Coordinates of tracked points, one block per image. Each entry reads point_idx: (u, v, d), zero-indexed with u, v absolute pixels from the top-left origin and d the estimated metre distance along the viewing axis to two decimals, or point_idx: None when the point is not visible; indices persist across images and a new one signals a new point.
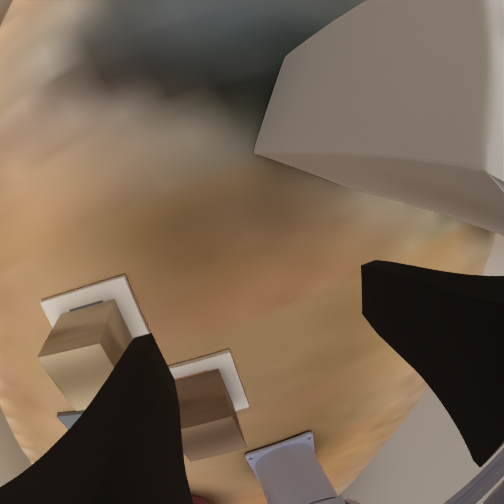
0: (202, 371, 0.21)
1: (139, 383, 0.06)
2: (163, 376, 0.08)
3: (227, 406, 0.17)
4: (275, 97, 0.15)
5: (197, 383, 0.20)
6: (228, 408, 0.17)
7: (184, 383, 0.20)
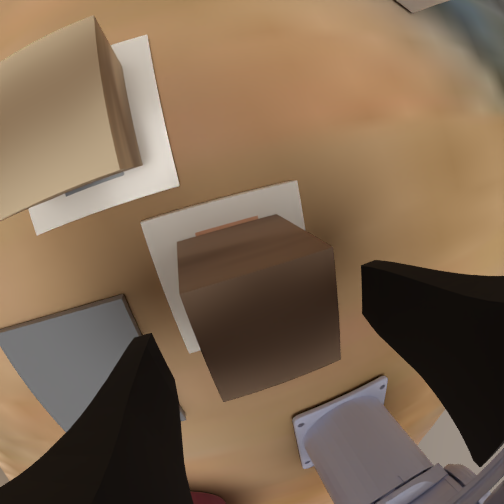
0: (248, 218, 0.13)
1: (139, 383, 0.06)
2: (163, 376, 0.08)
3: (315, 239, 0.09)
4: None
5: (241, 229, 0.12)
6: (319, 241, 0.09)
7: (216, 234, 0.12)
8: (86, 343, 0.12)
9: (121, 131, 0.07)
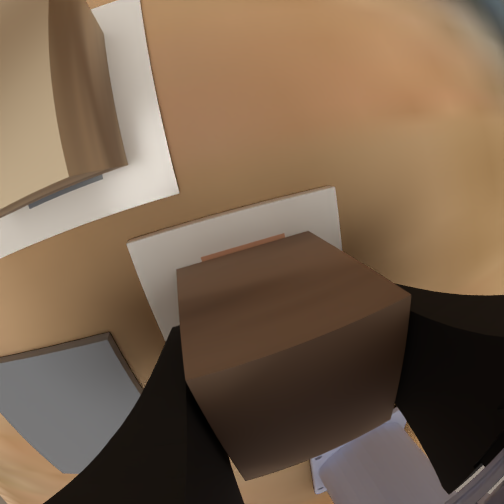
0: (272, 236, 0.09)
1: None
2: None
3: (380, 278, 0.06)
4: None
5: (266, 255, 0.09)
6: (386, 281, 0.06)
7: (230, 261, 0.09)
8: (69, 387, 0.09)
9: (86, 112, 0.04)
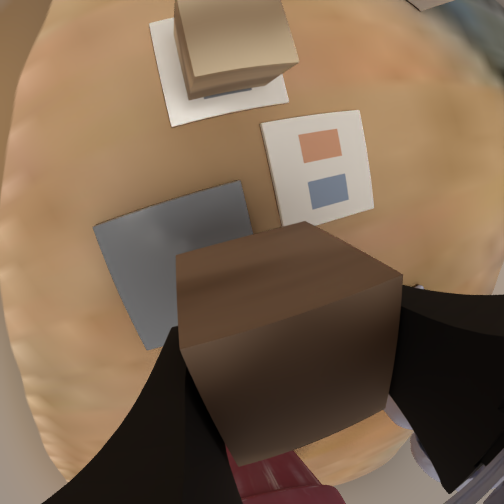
0: (331, 129, 0.17)
1: None
2: None
3: (373, 260, 0.06)
4: None
5: (263, 241, 0.09)
6: (379, 263, 0.06)
7: (228, 247, 0.09)
8: (199, 224, 0.17)
9: None
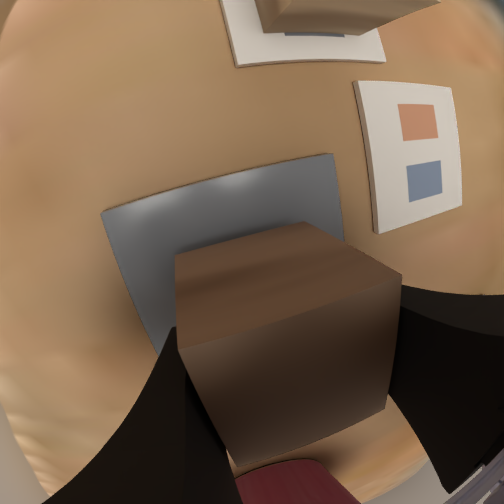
0: (428, 104, 0.11)
1: None
2: None
3: (372, 261, 0.06)
4: None
5: (262, 241, 0.09)
6: (378, 263, 0.06)
7: (227, 247, 0.09)
8: (273, 213, 0.11)
9: None
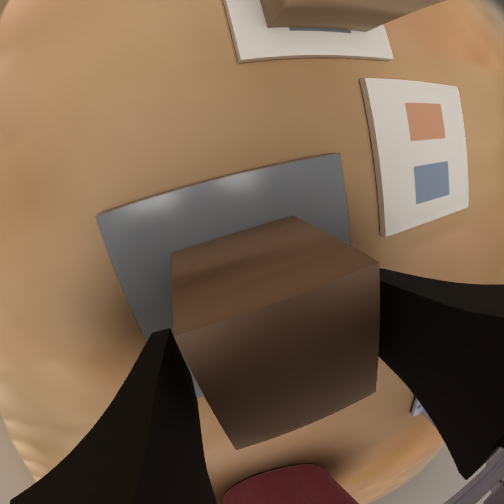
0: (435, 103, 0.11)
1: (163, 378, 0.06)
2: (182, 371, 0.08)
3: (352, 250, 0.07)
4: None
5: (252, 236, 0.09)
6: (358, 253, 0.07)
7: (220, 243, 0.09)
8: (277, 216, 0.10)
9: None
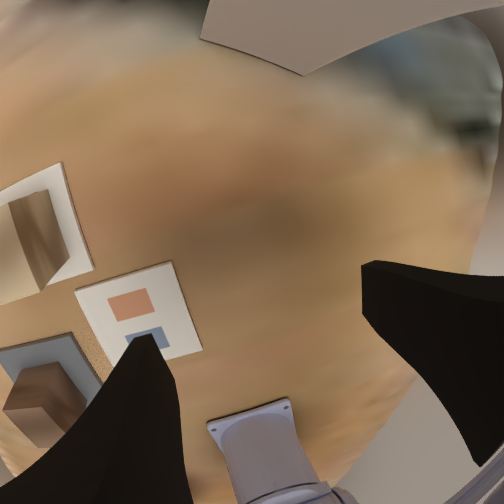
0: (139, 289, 0.17)
1: (139, 383, 0.06)
2: (163, 376, 0.08)
3: (43, 397, 0.13)
4: None
5: (39, 372, 0.16)
6: (43, 399, 0.13)
7: (31, 371, 0.16)
8: (52, 361, 0.17)
9: (43, 259, 0.12)
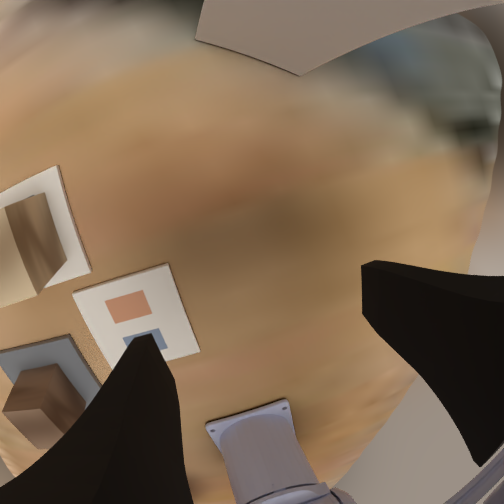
0: (137, 291, 0.17)
1: (139, 383, 0.06)
2: (163, 376, 0.08)
3: (42, 399, 0.13)
4: None
5: (38, 374, 0.16)
6: (42, 401, 0.13)
7: (30, 373, 0.16)
8: (51, 363, 0.17)
9: (40, 262, 0.12)
